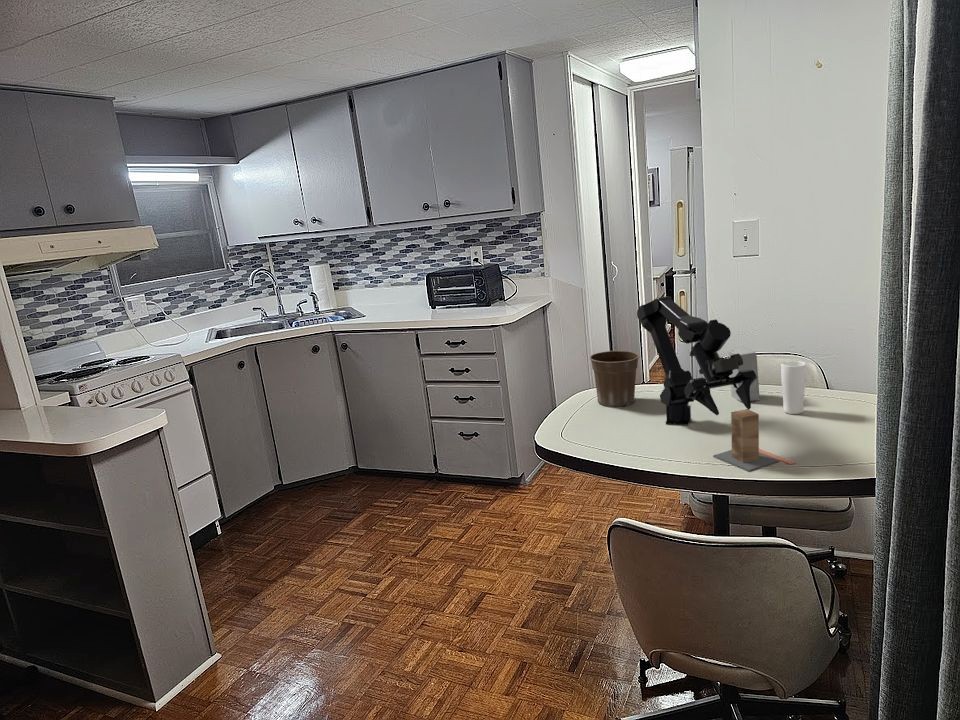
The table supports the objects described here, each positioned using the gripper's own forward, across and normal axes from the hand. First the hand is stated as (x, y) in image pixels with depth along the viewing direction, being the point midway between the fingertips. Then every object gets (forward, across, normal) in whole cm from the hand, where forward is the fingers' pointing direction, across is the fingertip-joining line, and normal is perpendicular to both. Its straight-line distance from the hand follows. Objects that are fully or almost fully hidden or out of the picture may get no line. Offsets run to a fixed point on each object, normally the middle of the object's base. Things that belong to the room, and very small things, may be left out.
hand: (733, 411), depth 172 cm
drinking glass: (-5, +33, +22) cm, 40 cm away
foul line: (+11, +6, +6) cm, 14 cm away
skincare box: (-18, +29, +36) cm, 50 cm away
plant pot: (-31, -7, +48) cm, 58 cm away
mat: (+11, 0, +5) cm, 12 cm away
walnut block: (+11, 0, +4) cm, 12 cm away
